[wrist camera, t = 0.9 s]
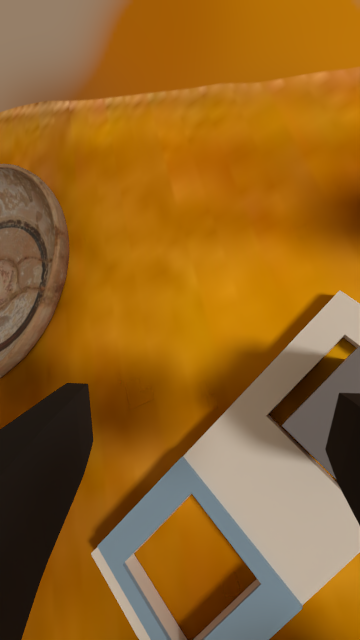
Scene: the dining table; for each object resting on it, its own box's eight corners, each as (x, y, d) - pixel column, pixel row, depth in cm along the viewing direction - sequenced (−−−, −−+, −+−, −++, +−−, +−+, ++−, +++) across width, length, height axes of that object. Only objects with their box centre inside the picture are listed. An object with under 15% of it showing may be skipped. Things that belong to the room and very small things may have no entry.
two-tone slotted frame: (500, 408, 17) (517, 409, 15) (189, 698, 19) (180, 721, 18) (338, 295, 21) (340, 288, 19) (100, 546, 23) (88, 555, 22)
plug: (405, 406, 18) (454, 414, 12) (343, 466, 19) (360, 503, 12) (345, 359, 20) (361, 344, 14) (290, 415, 20) (281, 425, 14)
